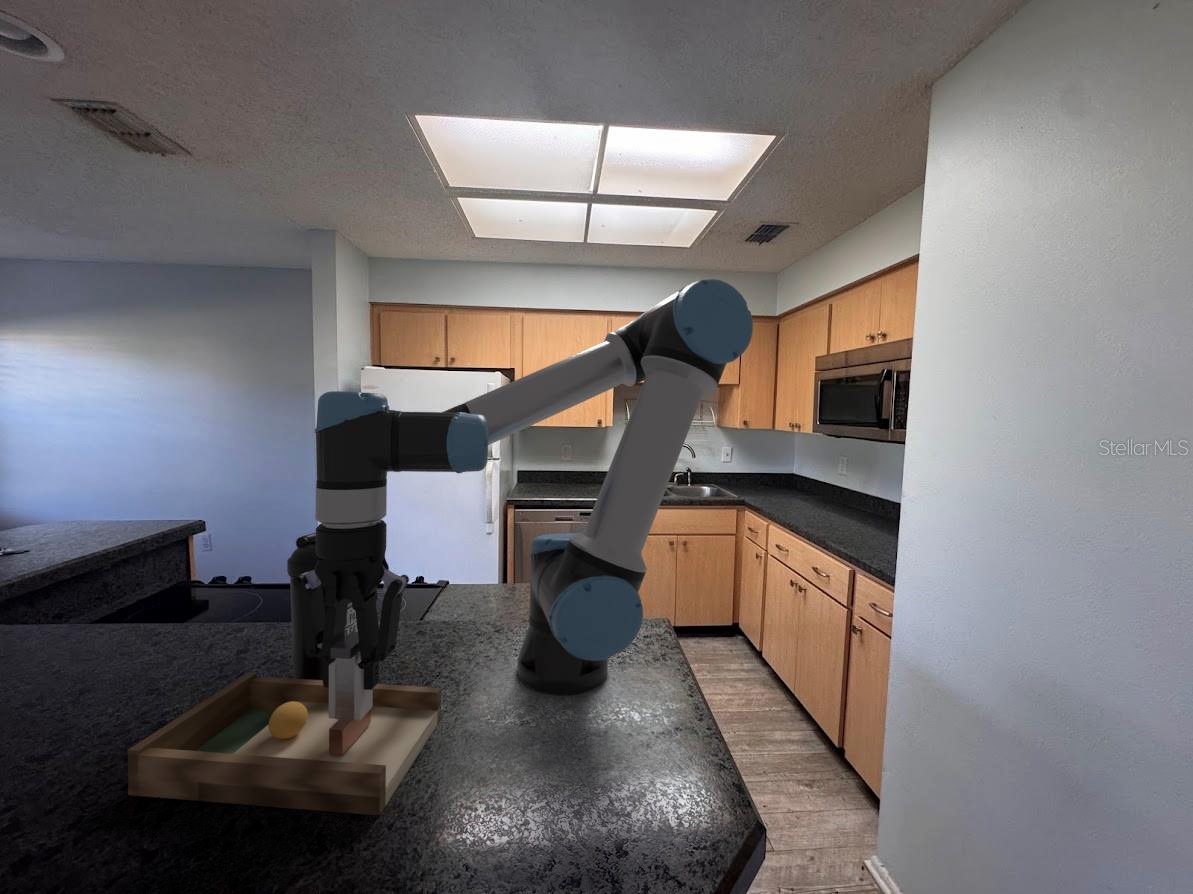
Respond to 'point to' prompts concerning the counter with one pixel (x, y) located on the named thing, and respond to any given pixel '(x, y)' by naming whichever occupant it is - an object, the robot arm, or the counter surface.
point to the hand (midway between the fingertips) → (351, 712)
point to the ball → (288, 720)
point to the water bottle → (297, 565)
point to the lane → (284, 749)
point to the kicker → (346, 696)
